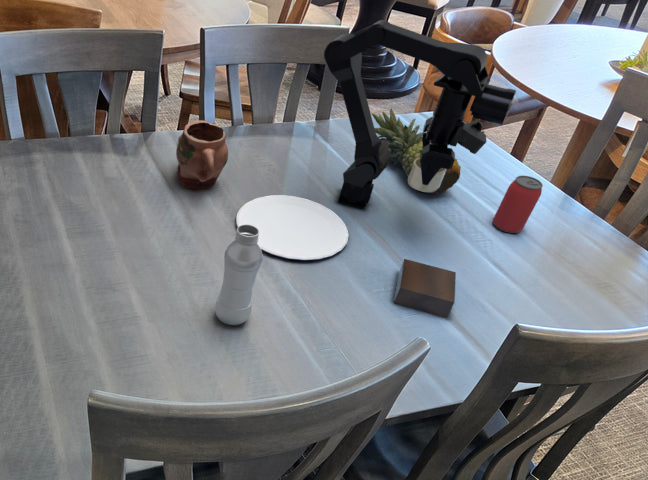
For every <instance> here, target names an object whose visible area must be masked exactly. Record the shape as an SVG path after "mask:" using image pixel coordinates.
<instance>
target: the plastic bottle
mask: <svg viewBox="0 0 648 480" xmlns="http://www.w3.org/2000/svg"><path fill="white" fill-rule="evenodd" d="M234 235H235V236H234V240H233V241H232V242H231V243H230V244H228V246H227V248H226V249H225V251H224V256H223V263H224V264H223V265H224V267H223V269H224V271H223V279H222V284H221V288H220V291H219V294H218V296H217V298H216V301H215V305H214V313H215V315H216V317H217V318H218V320H219V321H220V322H222V323H223V324H224V325H225V324H226V325H228V326H238V325H242V324H243V323H245V322H247V320H248V319H249V317H250V315H251V313H252V305H253V303H252V301H253V300H252V297H253V289H254V285H255V281H256V278H257V275H258V273H259V270H260V268H261V265H262V262H263V259H264V255H263V250H261V249H260V247H259V245H258V244H257V243H258V239H259V238H258V236H259V230H258V229H257V228H256V227H255V226H252V225H241V226H239V227H237V229H236V233H235V234H234Z"/></svg>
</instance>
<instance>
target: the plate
mask: <svg viewBox="0 0 648 480" xmlns="http://www.w3.org/2000/svg"><path fill="white" fill-rule="evenodd" d="M235 217H236V218H235V220H236V221H235V223H236V227H237V228H238V227H239V226H241V225H252V226H255V227H256V228H257V229H258V230H259V236H258V238H259V239H258V243H257V244H258V245H259V247H260V249H261V251H262V252H265V253H268V254H271V255H272V256H276V257H279V258H284V259H287V260H295V261H316V260H323V259H326V258H330V257H332V256H335V255H336V254H339V253H340V252H342V250H343V249H344V248H345V247H346V245H347V244H348V241H349V240H348V239H349V231H348V226H347V225H346V224H345V222H344V221H343V220H342V218H341V217H340V216H339V215H337V214H336V213H335V211H333V210H332V209H330V208H328V207H326V206H325V205H323V204H322V203H319V202H316V201H313V200H310V199H307V198H303V197H300V196H295V195H285V194H275V195H274V194H273V195H265V196H260V197H256V198H254V199H251V200H250V201H247V202H246V203H245V204H243V205H242V206H241V207H240V208H239V209H238V212H237V214H236V216H235Z"/></svg>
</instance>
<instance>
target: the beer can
mask: <svg viewBox="0 0 648 480" xmlns="http://www.w3.org/2000/svg"><path fill="white" fill-rule="evenodd" d="M543 187H544V185H543V183H542V181H540V180H539V179H537V178H536V177H533V176H529V175H518V176H516V177H515V178H514V180H513V181H512V182H511V183H510V184H509V185H508V187H507V189H506V191H505V194H504V196H503V197H502V200H501V201H500V204H499V206H498V207H497V210H496V212H495V214H494V216H493V218H492V223H493V225H494V226H495V228H497V229H498V230H500V231H502V232H505V233H509V234H517V233H518V234H519V233H520V232H522V231H523V230H524V228H525V226H526V224H527V222H528V221H529V218H530V217H531V215H532V213H533V211H534V209H535V207H536V205H537V203H538V202H539V200H540V197H541V195H542V192H543V191H542V190H543Z"/></svg>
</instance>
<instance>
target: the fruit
mask: <svg viewBox="0 0 648 480" xmlns="http://www.w3.org/2000/svg"><path fill="white" fill-rule="evenodd" d="M381 112H382V113H381V114H382V115H381V114H380V113H378V114H375V113H371V112H370V113H371V116H372V118H373V119H374V120H375V122H376V123H377V124H378V126H379V127H374V129H375V133H376V135H377V136H378V138H379V139H380V140H381V141H383V140H386V139H387V140H388V148H389V151H390V152H391V154H392V155H391V156H390V159H392V158H395V159H394V160H393V161H392V162H393V165H392V167H394V166H395V165H396V164H397V162H398V163H400V166H401V167H402V168H403V169H402V171H404V172H405V175H406V176H407V178H408V176H409V173H410V171H411V168H412V165H413V162H414V160H415V159H417V158H420V155H421V153H422V150H423V144H422V136H423V133H425V132H423V131H422V132H421V131H420V132H418V131H419V129H420V128H421V124H418V125H416V126H415V127H414V125H415V121H416V119H417V118H416V117H415V118H413V119H412V120H411V121H410V122H409V125H408V126H407V125H406V124H404V123H403V122H402V121H401V119H400V117H399V116H398V117H396V114H395V113H394V111H393V108H392V107H390V109H389V115H387V113H386V112H385V111H381ZM461 168H462V166H461V165H460V164H459V161H458V159H457V158H455V161H454V164H453V166H452V169H446V172H445V175H444V177H443V180H442V182H441V185H440V187H439V188H438V189H437V190H436V191H434V192H426V193H427V194H433V195H438V194H444V193H445V192H447V191H448V190H449V189H451V188H452V187H453V186H454V185H456V183H457V182H458V181H459V179H460V177H461Z"/></svg>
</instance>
